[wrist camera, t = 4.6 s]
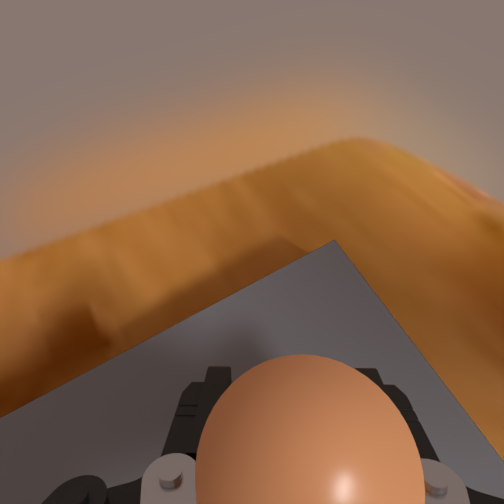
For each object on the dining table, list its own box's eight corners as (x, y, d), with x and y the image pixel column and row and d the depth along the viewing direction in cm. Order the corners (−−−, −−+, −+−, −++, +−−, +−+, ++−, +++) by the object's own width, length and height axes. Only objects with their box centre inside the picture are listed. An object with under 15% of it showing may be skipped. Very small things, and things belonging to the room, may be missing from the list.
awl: (299, 391, 19) (336, 319, 8) (347, 473, 17) (476, 524, 6) (227, 435, 18) (160, 420, 7) (269, 525, 16) (265, 685, 5)
